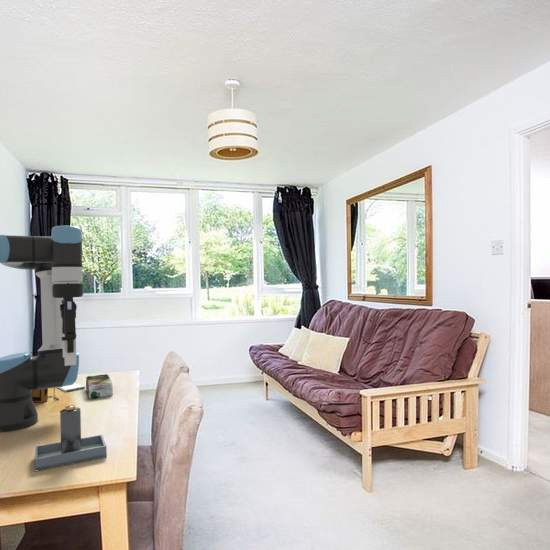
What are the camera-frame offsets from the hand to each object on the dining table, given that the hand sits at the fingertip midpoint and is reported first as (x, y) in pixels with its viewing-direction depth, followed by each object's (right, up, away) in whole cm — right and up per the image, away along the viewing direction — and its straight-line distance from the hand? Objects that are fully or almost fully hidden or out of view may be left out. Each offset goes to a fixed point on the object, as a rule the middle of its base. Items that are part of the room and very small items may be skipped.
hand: (69, 360), depth 119 cm
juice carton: (-20, -28, +69) cm, 77 cm away
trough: (+1, -26, 0) cm, 26 cm away
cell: (+1, -25, 0) cm, 25 cm away
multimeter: (-39, -28, +59) cm, 76 cm away
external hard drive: (-36, -28, +77) cm, 90 cm away
